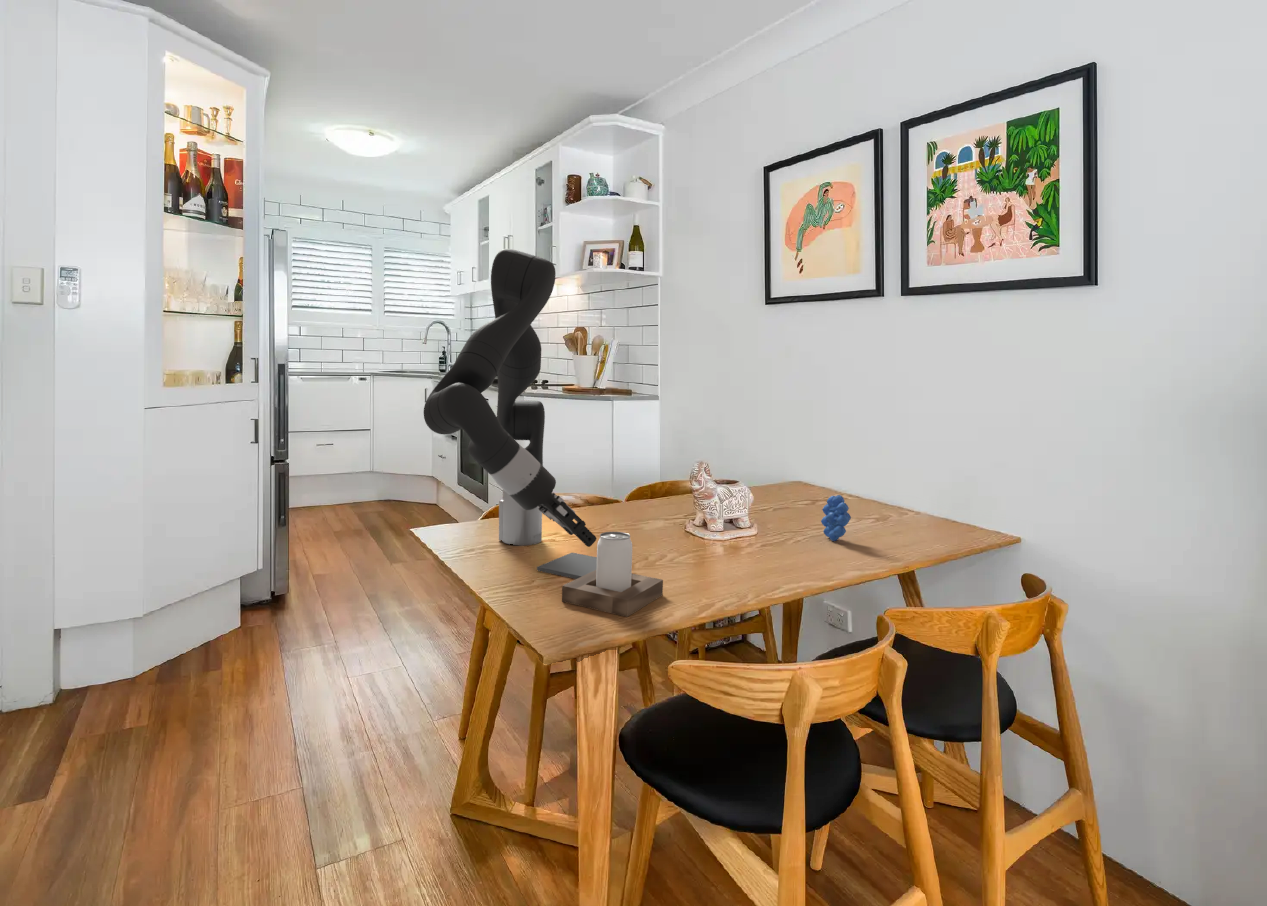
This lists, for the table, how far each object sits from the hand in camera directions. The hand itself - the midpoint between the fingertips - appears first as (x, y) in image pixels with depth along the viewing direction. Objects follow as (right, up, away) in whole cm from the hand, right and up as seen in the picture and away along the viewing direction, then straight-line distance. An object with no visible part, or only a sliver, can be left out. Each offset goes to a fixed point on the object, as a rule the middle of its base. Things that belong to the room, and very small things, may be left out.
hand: (583, 536), depth 130 cm
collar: (+5, -12, +4) cm, 14 cm away
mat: (-2, -9, +22) cm, 24 cm away
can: (+5, -12, +4) cm, 14 cm away
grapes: (+60, -7, +52) cm, 79 cm away
